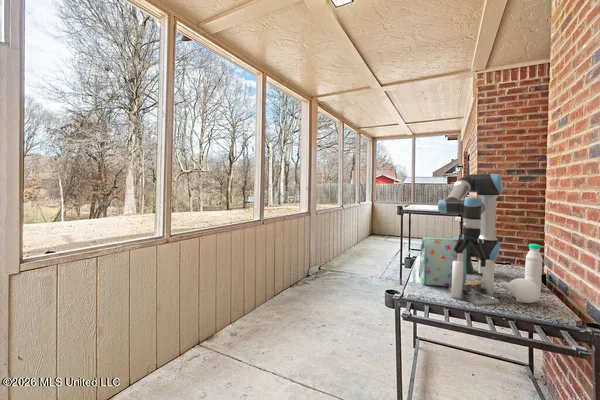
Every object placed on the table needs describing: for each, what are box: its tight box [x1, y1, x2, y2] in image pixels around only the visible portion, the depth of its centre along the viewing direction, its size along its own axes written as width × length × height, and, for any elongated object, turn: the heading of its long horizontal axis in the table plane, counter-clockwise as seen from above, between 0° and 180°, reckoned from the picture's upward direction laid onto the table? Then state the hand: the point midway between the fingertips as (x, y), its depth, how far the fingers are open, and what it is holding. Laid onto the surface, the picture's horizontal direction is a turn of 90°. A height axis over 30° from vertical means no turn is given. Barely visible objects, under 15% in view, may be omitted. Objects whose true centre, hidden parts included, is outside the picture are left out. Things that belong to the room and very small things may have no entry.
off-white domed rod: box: [481, 259, 495, 298], centre depth 138 cm, size 5×5×18 cm
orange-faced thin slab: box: [464, 282, 482, 292], centre depth 137 cm, size 1×9×4 cm, turn 101°
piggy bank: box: [499, 277, 542, 304], centre depth 133 cm, size 12×12×15 cm
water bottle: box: [524, 243, 544, 292], centre depth 149 cm, size 7×7×25 cm
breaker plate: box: [448, 287, 500, 306], centre depth 137 cm, size 18×12×4 cm, turn 11°
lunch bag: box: [418, 237, 467, 288], centre depth 156 cm, size 23×16×27 cm
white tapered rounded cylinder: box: [449, 261, 464, 301], centre depth 135 cm, size 5×5×18 cm
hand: (470, 269), depth 138 cm, fingers open, 13 cm apart
